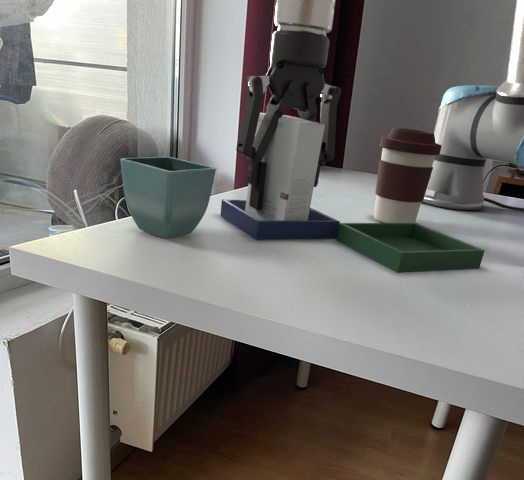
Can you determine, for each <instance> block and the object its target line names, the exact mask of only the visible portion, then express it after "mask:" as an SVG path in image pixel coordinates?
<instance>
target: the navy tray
mask: <svg viewBox="0 0 524 480" xmlns="http://www.w3.org/2000/svg"><path fill="white" fill-rule="evenodd" d="M245 206H246V199H225V198H223V199H221V205H220V217H221V218H223V219H224V220H225V221H227V222H229V223H230V224H231V225H233V226H234V227H236V228H237V229H239V230H241V231H242V232H243V233H245V234H246V235H248V236H250V237H251V238H252V239H254V240H256V241H293V240H295V241H296V240H297V241H298V240H337V235H338V229H339V223H341V221H340V220H338V219H337V218H334V217H332V216H330V215H327V214H325V213H323V212H321V211H319V210H317V209H315V208H312V207H310V211H309V215H308V221H303V220H259V219H257V218H256V217H254V216H252V215H250V214H249V213H247V212H245Z"/></svg>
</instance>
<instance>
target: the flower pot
mask: <svg viewBox="0 0 524 480" xmlns="http://www.w3.org/2000/svg"><path fill="white" fill-rule="evenodd" d="M119 161H120V169H121V178H122V179H121V180H122V189H123V195H124V199H125V203H126V207H127V209H128V211H129V214H130V216H131V218H132V220H133V221H134V224H135V225H136V226H137V228H138V229H139V230H140V231H143V232H146V233H148V234H153V235H155V236H158V237H161V238H163V239H171V238H175V237H180V236H185V235H190V234H192V233H193V232H194V230H195V229H196V228H197V227H198V225H199V224H200V222H201V221H202V219H203V217H204V216H205V214H206V211H207V208H208V207H209V204H210V200H211V199H210V198H211V195H212V190H213V187H214V180H215V176H216V171H217V168H216V167H213V166H209V165H205V164H201V163H197V162H193V161H189V160H185V159H180V158H176V157H173V156H147V157H145V156H144V157H122V158H120V160H119Z"/></svg>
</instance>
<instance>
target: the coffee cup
mask: <svg viewBox="0 0 524 480" xmlns="http://www.w3.org/2000/svg"><path fill="white" fill-rule="evenodd" d="M379 147H380V148H382V150H381V157H380V159H379V162H378V169H377V178H376V185H375V202H374V209H373V218H374V220H376V221H377V222H379V223H416V221H417V217H418V215H419V212H420V208H421V205H422V203H423V202H422V201H423V199H424V196H425V193H426V190H427V186H428V183H429V180H430V177H431V173H432V170H433V167H432V166H433V162H434V159H435V156H436V155H439V154H440V151H441V147H442V146H441V145H440V144H437V143H435V136H434V132H430V131H426V130H419V129H412V128H402V127H393V128H392V129H391V131H389V134H388V135H387V136H385V135H384V136H381V137H380V141H379Z"/></svg>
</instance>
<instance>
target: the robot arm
mask: <svg viewBox="0 0 524 480" xmlns="http://www.w3.org/2000/svg"><path fill="white" fill-rule="evenodd" d="M335 7H336V0H276V2H275V11H274V21H273V23H274V25H275V27H277V30H275V31H274V32H273V33H272V39H271V48H270V56H269V57H270V58H269V60H270V66H269V69H268V71H267V73H266V75H259V76H256V75H248V76H247V77H246V80H245V82H246V92H247V95H246V101H245V105H244V110H243V115H242V119H241V125H240V129H239V133H238V138H237V142H236V148H235V150H236V153H237V154H240V155H242V156H243V157H246V159H247V162H248V163H247V171H246V182H247V184H251V193H250V203H249V206H251V207H252V208H254V209H256V210H262V203H263V194H264V185H265V177H266V168H267V163H265V162H263V161H261V160H262V159H263V156H264V154H265V152H266V150H267V148H268V145H269V143H270V141H271V139H272V137H273V134H274V132H275V130H276V128H277V126H278V119H279V118H281V117H282V116H283V115H285V114H286V112H287V110H297V115H298V116H299V118H301V119H305V120H308V121H314V122H318V120H317V116H318V108H317V103H316V102H317V101H316V100H317V98H318V97H319V98H320V99H321V102H320V114H319V123H322V124H324V125H325V127H324V133H323V138H322V144H321V149H320V154H319V160H318V166H317V171H316V177H315V182H314V188H316V187H317V186H318V184H319V178H320V172H321V168H322V167H324V166H325V165H326V163H327V162H332V161H334V159H335V150H336V149H335V148H336V131H337V112H338V103H339V100H340V98H341V94H342V88H341V87H340V86H334V85H330V84H328V83H326V81H325V77H324V71H325V69H326V66H327V62H328V54H329V48H330V42H331V41H330V39H329V37H328V36H327V34H329V33H331V32H332V30H333V22H334V15H335ZM513 17H514V18H513V23H512V30H511V31H512V32H511V41H510V49H509V57H508V66H507V73H506V79H505V81H504V82H503V83H501V84H500V85H499V86H497V85H484V84H483V85H481V84H480V85H477V84H475V85H473V84H472V85H458V86H453V87H449V88H448V89H447V90H446V91H445V92H444V93H443V96H442V99H441V103H440V106H439V108H438V111H437V112H438V113H437V117H436V122H435V126H434V131H433V133H434V136H435V143H437V144H440V145H441V146H442V147H441V151H440V154H439V155H436V156H435V159H434V162H433V166H432V167H433V170H432V173H431V177H430V180H429V183H428V186H427V190H426V193H425V196H424V199H423V201H422V202H421V203H424V204H427V205H430V206H435V207H438V208H439V207H440V208H445V209H452V210H459V211H479V210H482V209H483V205H484V202H486V203H488V204H489V203H490V204H492V205H495V206H498V207H499V208H502V209H506V210H510V211H518V212H524V207H518V206H511V205H507V204H503V203H501V202H498V201H496V200H493V199H490V198H487V197H485V195H484V170H485V165H486V162H487V160H488V159H489V160H493V161H498V162H503V163H506V164H507V163H508V164H511V165H515V166H518V167H524V0H515V9H514V16H513ZM267 87H268V89H269V91H270V94H271V96H270V98H269V100H268V103H267V105H266V111H265V113H266V114H265V116H264V118H263V120H262V123H261V125H260V127H259V129H258V131H257V134H256V136H255V133H256V129H257V124H258V120H259V115H260V113H261V110H262V106H263V101H264V94H265V93H266V92H267ZM309 211H310V210H309Z"/></svg>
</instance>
